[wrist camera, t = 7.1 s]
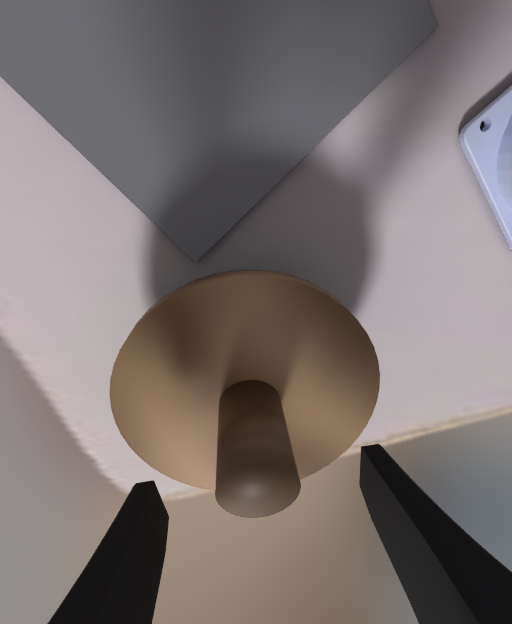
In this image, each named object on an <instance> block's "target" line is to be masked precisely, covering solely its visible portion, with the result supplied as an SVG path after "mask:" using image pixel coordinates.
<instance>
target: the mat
mask: <svg viewBox="0 0 512 624" xmlns="http://www.w3.org/2000/svg"><path fill="white" fill-rule="evenodd" d="M437 27H438V24H437V21H436V19H435V17H434V14H433V12H432V10H431V8H430V5H429V3H428V1H427V0H0V76H1V77H2V78H3V79H4V80H5V81H6V82H7V83H8V84H9V85H10V86H11V87H12V88H13V89H14V90H15V91H16V92H17V93H18V94H19V95H20V96H21V97H22V98H24V99H25V100H26V101H27V102H28V103H29V104H30V105H31V106H32V107H33V108H34V109H35V110H36V111H37V112H38V113H39V114H40V115H41V116H42V117H43V118H44V119H45V120H47V121H48V122H49V123H50V124H51V125H52V126H53V127H54V128H55V129H56V130H57V131H58V132H59V133H60V134H61V135H62V136H63V137H64V138H65V139H66V140H67V141H69V142H70V143H71V144H72V145H73V146H74V147H75V148H76V149H77V150H78V151H79V152H80V153H81V154H82V155H83V156H84V157H85V158H86V159H87V160H88V161H89V162H90V163H92V164H93V165H94V166H95V167H96V168H97V169H98V170H99V171H100V172H101V173H102V174H103V175H104V176H105V177H106V178H107V179H108V180H109V181H110V182H111V183H112V184H114V185H115V186H116V187H117V188H118V189H119V190H120V191H121V192H122V193H123V194H124V195H125V196H126V197H127V198H128V199H129V200H130V201H131V202H132V203H133V204H134V205H135V206H137V207H138V208H139V209H140V210H141V211H142V212H143V213H144V214H145V215H146V216H147V217H148V218H149V219H150V220H151V221H152V222H153V223H154V224H155V225H156V226H157V227H158V228H160V229H161V230H162V231H163V232H164V233H165V234H166V235H167V236H168V237H169V238H170V239H171V240H172V241H173V242H174V243H175V244H176V245H177V246H178V247H179V248H180V249H182V250H183V251H184V252H185V253H186V254H187V255H188V256H189V257H190V258H191V259H192V260H193V261H194V262H195V263H196V262H197V261H198V260H199V259H200V258H201V257H202V256H203V255H204V254H205V253H206V252H207V251H208V250H209V249H210V248H211V247H212V246H213V245H214V244H215V243H216V242H217V241H218V240H219V239H220V238H221V237H223V236H224V235H225V234H226V233H227V232H228V231H229V230H230V229H231V228H232V227H233V226H234V225H235V224H236V223H237V222H238V221H239V220H240V219H241V218H242V217H243V216H244V215H245V214H246V213H247V212H248V211H249V210H250V209H251V208H252V207H253V206H254V205H255V204H256V203H257V202H258V201H259V200H261V199H262V198H263V197H264V196H265V195H266V194H267V193H268V192H269V191H270V190H271V189H272V188H273V187H274V186H275V185H276V184H277V183H278V182H279V181H280V180H281V179H282V178H283V177H284V176H285V175H286V174H287V173H288V172H289V171H290V170H291V169H292V168H293V167H294V166H295V165H296V164H298V163H299V162H300V161H301V160H302V159H303V158H304V157H305V156H306V155H307V154H308V153H309V152H310V151H311V150H312V149H313V148H314V147H315V146H316V145H317V144H318V143H319V142H320V141H321V140H322V139H323V138H324V137H325V136H326V135H327V134H328V133H329V132H330V131H331V130H332V129H333V128H334V127H336V126H337V125H338V124H339V123H340V122H341V121H342V120H343V119H344V118H345V117H346V116H347V115H348V114H349V113H350V112H351V111H352V110H353V109H354V108H355V107H356V106H357V105H358V104H359V103H360V102H361V101H362V100H363V99H364V98H365V97H366V96H367V95H368V94H369V93H370V92H371V91H373V90H374V89H375V88H376V87H377V86H378V85H379V84H380V83H381V82H382V81H383V80H384V79H385V78H386V77H387V76H388V75H389V74H390V73H391V72H392V71H393V70H394V69H395V68H396V67H397V66H398V65H399V64H400V63H401V62H402V61H403V60H404V59H405V58H406V57H407V56H408V55H409V54H411V53H412V52H413V51H414V50H415V49H416V48H417V47H418V46H419V45H420V44H421V43H422V42H423V41H424V40H425V39H426V38H427V37H428V36H429V35H430V34H431V33H432V32H433V31H434V30H435V29H436V28H437Z"/></svg>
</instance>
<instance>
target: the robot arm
mask: <svg viewBox="0 0 512 624" xmlns="http://www.w3.org/2000/svg"><path fill="white" fill-rule="evenodd" d="M482 121H484V128H483V130H482V131H481V130H480V124H481V122H482ZM459 141H460V144H461V146H462V148H463V150H464V152H465V154H466V156H467V159H468V161H469V163H470V165H471V167H472V169H473V171H474V173H475V175H476V177H477V179H478V181H479V184H480V186H481V188H482V190H483V192H484V194H485V196H486V198H487V200H488V202H489V204H490V207H491V209H492V211H493V213H494V215H495V217H496V219H497V221H498V223H499V225H500V227H501V229H502V232H503V234H504V236H505V238H506V240H507V242H508V244H509V246H510V248H511V250H512V85H511V86H510V87H509V88H508V89H506V90H505V91H504V92H503V93H502V94H501V95H499V96H498V97H497V98H496V99H495V100H494V101H493V102H491V103H490V104H489V105H488V106H487V107H486V108H484V109H483V110H482V111H481V112H480V113H479V114H478V115H476V116H475V117H474V118H473V119H472V120H471V121H470V122H468V123H467V124H466V125H465V126H464V127H463V128H462V130H461V132H460V135H459ZM360 488H361V491H362V494H363V497H364V499H365V502H366V505H367V508H368V511H369V513H370V516H371V519H372V521H373V523H374V525H375V527H376V530H377V532H378V534H379V536H380V539H381V541H382V543H383V545H384V547H385V549H386V552H387V553H388V556H389V558H390V560H391V562H392V564H393V567H394V569H395V571H396V573H397V575H398V577H399V580H400V582H401V584H402V586H403V588H404V590H405V592H406V595H407V597H408V599H409V601H410V603H411V606H412V608H413V610H414V613H415V615H416V617H417V620H418V622H419V624H512V572H511V571H510V570H509V569H507V568H506V567H505V566H504V565H503V564H501V563H500V562H499V561H498V560H497V559H495V558H494V557H493V556H492V555H491V554H490V553H488V552H487V551H486V550H485V549H484V548H483V547H482V546H481V545H479V544H478V543H477V542H476V541H475V540H474V539H473V538H472V537H471V536H470V535H468V534H467V533H466V532H465V531H464V530H463V529H462V528H461V527H460V526H459V525H458V524H456V523H455V522H454V521H453V520H452V519H451V518H450V517H449V516H448V515H447V514H446V513H445V512H444V511H443V510H442V509H441V508H440V507H439V506H438V505H437V504H436V503H435V502H434V501H433V500H432V499H431V498H430V497H429V496H428V495H427V494H426V493H424V491H423V490H422V489H421V488H420V487H419V486H418V485H417V484H416V483H415V482H414V481H413V480H412V479H411V478H410V477H409V476H408V475H407V474H406V473H405V472H404V471H403V469H402V468H401V467H400V466H399V465H398V464H397V463H396V462H395V461H394V460H393V459H392V457H391V456H390V455H389V454H388V453H387V452H386V451H385V450H384V448H383V447H382V446H381V445H379V444H375V445H369V446H363V447H361V462H360ZM168 520H169V516H168V513H167V511H166V508H165V506H164V504H163V501H162V499H161V497H160V494H159V492H158V489H157V487H156V485H155V482H154V481H147V482H141V483H136V484H135V485H134V486H133V488H132V490H131V492H130V493H129V495H128V497H127V499H126V500H125V502H124V504H123V506H122V507H121V509H120V511H119V512H118V514H117V516H116V518H115V519H114V521H113V523H112V525H111V526H110V528H109V529H108V531H107V533H106V535H105V536H104V538H103V539H102V541H101V543H100V545H99V546H98V548H97V549H96V551H95V553H94V554H93V556H92V557H91V559H90V561H89V562H88V564H87V565H86V567H85V569H84V570H83V572H82V573H81V575H80V576H79V578H78V579H77V581H76V583H75V584H74V585H73V587H72V588H71V590H70V592H69V593H68V594H67V596H66V597H65V599H64V600H63V602H62V603H61V605H60V607H59V608H58V609H57V611H56V612H55V614H54V615H53V617H52V618H51V619H50V621H49V622H48V624H152V619H153V614H154V609H155V604H156V599H157V594H158V589H159V584H160V579H161V573H162V568H163V563H164V558H165V551H166V541H167V533H168Z"/></svg>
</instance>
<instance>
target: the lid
mask: <svg viewBox="0 0 512 624" xmlns="http://www.w3.org/2000/svg"><path fill="white" fill-rule="evenodd" d="M379 382H380V372H379V364H378V359H377V356H376V352H375V349H374V346H373V344H372V342H371V340H370V338H369V336H368V334H367V333H366V331H365V330H364V328H363V327H362V326H361V324H360V323H359V322H358V320H357V319H356V318H355V317H354V316H353V315H352V314H351V313H350V312H349V311H348V310H347V309H346V308H345V307H344V306H343V305H342V304H341V303H340V302H339V301H338V300H337V299H336V298H335V297H333V296H332V295H330V294H329V293H328V292H326V291H325V290H323V289H322V288H320V287H318V286H316V285H314V284H312V283H310V282H308V281H305V280H303V279H300V278H297V277H294V276H291V275H287V274H282V273H277V272H272V271H260V270H242V271H230V272H225V273H219V274H214V275H210V276H207V277H204V278H201V279H198V280H195V281H192V282H190V283H188V284H186V285H184V286H182V287H179V288H177V289H176V290H174V291H173V292H171V293H170V294H168V295H166V296H165V297H163V298H162V299H161V300H159V301H158V302H157V303H156V304H155V305H154V306H152V307H151V308H150V309H149V310H148V311H147V312H146V313H145V314H144V315H143V317H142V318H141V319H140V320H139V321H138V322H137V324H136V325H135V327H134V328H133V330H132V332H131V333H130V335H129V336H128V338H127V340H126V341H125V343H124V344H123V346H122V347H121V349H120V351H119V354H118V356H117V358H116V361H115V363H114V367H113V371H112V375H111V380H110V401H111V409H112V412H113V416H114V419H115V422H116V425H117V427H118V429H119V431H120V433H121V435H122V436H123V438H124V439H125V441H126V442H127V444H128V445H129V446H130V448H131V449H132V450H133V451H134V452H135V453H136V454H137V455H138V456H139V457H140V458H141V459H142V460H144V461H145V462H146V463H147V464H148V465H150V466H151V467H153V468H154V469H156V470H157V471H159V472H160V473H162V474H164V475H166V476H168V477H170V478H172V479H174V480H176V481H179V482H182V483H185V484H187V485H191V486H194V487H198V488H202V489H208V490H214V491H215V495H216V500H217V502H218V504H219V505H220V506H221V507H222V508H223V509H224V510H226V511H227V512H229V513H231V514H233V515H236V516H240V517H246V518H247V517H248V518H258V517H265V516H269V515H273V514H275V513H278V512H280V511H282V510H284V509H285V508H287V507H288V506H290V505H291V504H292V503H293V502H294V501H295V500H296V498H297V497H298V495H299V492H300V488H301V484H300V479H303V478H305V477H307V476H309V475H311V474H313V473H316V472H317V471H319V470H321V469H322V468H324V467H325V466H327V465H329V464H330V463H331V462H333V461H334V460H335V459H337V458H338V457H339V456H340V455H342V454H343V453H344V452H345V451H346V450H347V449H348V448H349V447H350V446H351V445H352V444H353V443H354V442H355V440H356V439H357V438H358V437H359V435H360V434H361V433H362V431H363V430H364V428H365V427H366V425H367V423H368V421H369V419H370V417H371V415H372V413H373V410H374V408H375V405H376V402H377V397H378V392H379Z"/></svg>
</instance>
